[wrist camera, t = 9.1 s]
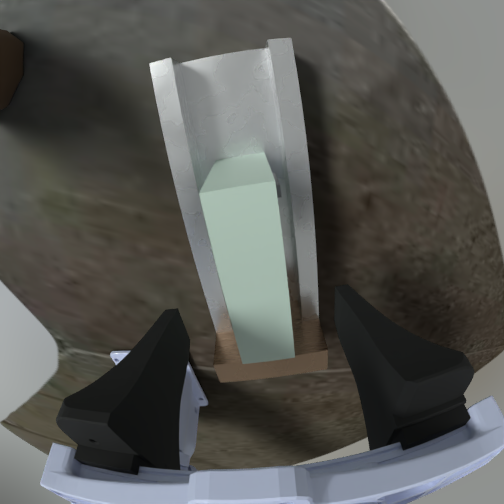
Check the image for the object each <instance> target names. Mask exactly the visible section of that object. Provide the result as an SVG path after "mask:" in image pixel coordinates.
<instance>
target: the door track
mask: <svg viewBox="0 0 504 504" xmlns="http://www.w3.org/2000/svg"><path fill="white" fill-rule="evenodd" d="M150 69H151V75H152V81H153V86H154V91H155V97H156V102H157V107H158V112H159V117H160V122H161V127H162V131H163V136H164V141H165V145H166V150H167V154H168V158H169V163H170V167H171V171H172V176H173V180H174V184H175V188H176V192H177V196H178V200H179V204H180V208H181V212H182V216H183V220H184V223H185V227H186V231H187V235H188V238H189V242H190V246H191V249H192V253H193V256H194V260H195V263H196V267H197V270H198V274H199V277H200V281H201V284H202V287H203V291H204V294H205V297H206V301H207V304H208V307H209V310H210V314H211V317H212V320H213V323H214V326H215V329H216V332H217V334H216V344H215V354H214V364H213V365H214V368H215V370H216V373H217V375H218V378H219V380H220V383H222V382H234V381H245V380H255V379H264V378H272V377H280V376H287V375H294V374H300V373H307V372H313V371H318V370H324V369H327V362H328V349H327V345H326V342H325V338H324V335H323V331H322V328H321V324H320V321H319V305H318V277H317V256H316V239H315V224H314V211H313V199H312V187H311V177H310V167H309V157H308V148H307V140H306V132H305V124H304V116H303V109H302V101H301V95H300V88H299V81H298V75H297V69H296V63H295V57H294V51H293V46H292V40H291V38H281V39H270V40H268V41H267V43H266V46H265V48H263V49H255V50H247V51H240V52H234V53H228V54H222V55H217V56H212V57H207V58H202V59H197V60H193V61H189V62H184V63H180V62H178V61H176V60H175V59H173V58H167V59H164V60H160V61H157V62H154V63H150ZM263 152H264V153H265V155H266V158H267V161H268V163H269V166H270V168H271V171H272V173H275V174H276V176H277V178H278V181H279V183H280V188H281V196H282V197H279V198H278V206H279V213H280V221H281V229H282V237H283V246H284V254H285V263H286V272H287V281H288V290H289V299H290V309H291V319H292V329H293V340H294V351H295V358H288V359H281V360H274V361H266V362H258V363H249V364H242V360H241V357H240V353H239V349H238V346H237V342H236V339H235V335H234V331H233V328H232V324H231V320H230V317H229V313H228V309H227V305H226V302H225V298H224V294H223V290H222V286H221V282H220V279H219V275H218V271H217V267H216V263H215V259H214V255H213V251H212V247H211V242H210V238H209V234H208V230H207V226H206V222H205V217H204V213H203V209H202V204H201V200H200V196H199V192H200V190H201V188H202V186H203V184H204V182H205V180H206V178H207V176H208V174H209V173H210V171H211V169H212V167H213V165H214V163H215V161H216V160H220V159H226V158H231V157H237V156H243V155H250V154H256V153H263Z"/></svg>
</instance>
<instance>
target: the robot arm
mask: <svg viewBox="0 0 504 504" xmlns="http://www.w3.org/2000/svg"><path fill="white" fill-rule="evenodd" d="M334 321H335V325H336V329H337V332H338V336H339V340H340V342H341V345H342V347H343V350H344V352H345V355H346V357H347V360H348V362H349V365H350V367H351V370H352V372H353V375H354V378H355V381H356V384H357V388H358V392H359V396H360V400H361V404H362V409H363V414H364V418H365V424H366V429H367V435H368V441H369V448H370V451H367V452H363V453H359V454H355V455H351V456H347V457H342V458H337V459H333V460H327V461H322V462H316V463H311V464H304V465H297V466H275V467H264V468H250V469H223V470H199V471H197V470H196V468H195V467H194V466H192V465H189V461H190V457H191V456H192V454H193V453H194V450H195V446H196V436H197V426H198V417H199V407H200V406H206V405H208V400H207V398H206V396H205V394H204V392H203V390H202V388H201V386H200V384H199V382H198V380H197V378H196V376H195V374H194V371H193V369H192V367H191V365H190V363H189V361H188V360H189V349H190V339H189V336H188V334H187V331H186V329H185V326H184V324H183V321H182V318H181V316H180V313H179V311H178V309H168V310H165V311H164V312H163V313H162V315H161V316H160V317H159V318H158V320H157V321H156V322H155V323H154V325H153V326H152V327H151V328H150V329H149V331H148V332H147V333H146V334H145V336H144V337H143V338H142V339H141V340H140V341H139V342H138V344H137V345H136V346H135V347H134V348H133V349H132V350H131V351H112V352H111V354H110V356H111V358H112V359H113V361H114V362H115V364H116V366H114V367H113V368H112V369H111V370H109V371H108V372H107V373H106V374H104V375H103V376H102V377H101V378H99V379H98V380H96V381H95V382H93V383H92V384H90V385H89V386H87V387H85V388H84V389H82V390H80V391H78V392H76V393H74V394H72V395H70V396H68V397H66V398H65V399H64V401H63V403H62V406H61V408H60V411H59V413H58V416H57V418H56V423H57V425H58V426H59V428H60V429H61V430H62V431H63V432H64V433H65V434H66V435H68V436H69V437H70V438H71V439H72V440H73V441H74V442H76V443H77V444H78V447H77V450H76V449H74V448H72V447H69V446H65V445H61V444H58V443H53V445H52V447H51V450H50V453H49V456H48V459H47V462H46V466H45V469H44V472H43V475H42V478H41V482H40V484H41V486H43V487H45V488H46V489H48V490H50V491H51V492H53V493H55V494H57V495H58V496H60V497H62V498H64V499H66V500H68V501H70V502H71V504H407V503H409V502H412V501H414V500H416V499H419V498H421V497H423V496H425V495H428V494H430V493H432V492H434V491H436V490H438V489H441V488H442V487H445V486H447V485H449V484H451V483H452V482H454V481H456V480H458V479H460V478H462V477H464V476H466V475H467V474H469V473H471V472H473V471H475V470H476V469H478V468H480V467H482V466H483V465H485V464H487V463H488V462H489V461H490V460H492V458H494V457H495V456H496V455H497V454H498V453H500V452H501V451H502V450H503V449H504V416H503V414H502V412H501V410H500V409H499V407H498V405H497V403H496V401H495V399H494V398H493V396H489V397H487V398H485V399H483V400H481V401H479V402H478V403H475V404H474V405H472V406H471V407H469V408H468V409H466V407H465V405H464V404H465V403H466V399H465V397H464V395H463V394H464V392H465V391H466V389H467V387H468V386H469V384H470V382H471V380H472V378H473V375H474V369H473V367H472V366H471V364H470V362H469V360H468V359H467V357H466V356H465V355H464V353H463V352H459V351H456V350H452V349H449V348H445V347H442V346H440V345H437V344H434V343H432V342H429V341H427V340H425V339H422V338H420V337H418V336H416V335H414V334H412V333H410V332H409V331H407V330H405V329H403V328H402V327H400V326H399V325H397V324H395V323H394V322H392V321H391V320H389V319H388V318H387V317H385V316H384V315H383V314H381V313H380V312H379V311H378V310H376V309H375V308H374V307H373V306H372V305H370V304H369V303H368V302H367V301H366V300H365V299H363V298H362V297H361V296H360V295H359V294H358V293H357V292H356V291H355V290H354V289H352V288H351V287H350V286H349V285H348V284H347V285H342V286H336V287H335V317H334Z"/></svg>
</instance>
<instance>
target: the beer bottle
mask: <svg viewBox="0 0 504 504" xmlns="http://www.w3.org/2000/svg"><path fill="white" fill-rule="evenodd" d="M23 50H24V43H23V42H22V41H20V40H19V39H18V38H16V37H15V36H13V35H12V34H11V33H9V32H8V31H6V30H1V29H0V110H2V109H4V108H6V107H7V106H8V105H9V103H10V101H11V99H12V97H13V94H14V92H15V90H16V88H17V86H18V84H19V82H20V80H21V78H22V76H23Z"/></svg>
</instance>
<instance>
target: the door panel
mask: <svg viewBox="0 0 504 504" xmlns="http://www.w3.org/2000/svg"><path fill="white" fill-rule="evenodd" d="M199 196H200V200H201V204H202V209H203V213H204V217H205V222H206V226H207V230H208V234H209V238H210V242H211V247H212V251H213V255H214V259H215V263H216V267H217V271H218V275H219V279H220V282H221V286H222V290H223V294H224V298H225V302H226V305H227V309H228V313H229V317H230V320H231V324H232V328H233V331H234V335H235V339H236V342H237V346H238V349H239V353H240V357H241V360H242V364H249V363H258V362H266V361H274V360H281V359H288V358H295V351H294V340H293V329H292V319H291V309H290V299H289V290H288V281H287V272H286V263H285V254H284V246H283V237H282V229H281V221H280V213H279V206H278V198H279V197H282V196H281V188H280V183H279V181H278V178H277V176H276V174H275V173H272V171H271V168H270V166H269V163H268V161H267V158H266V155H265V153H264V152H263V153H256V154H250V155H243V156H237V157H231V158H226V159H220V160H216V161H215V163H214V165H213V167H212V169H211V171H210V173H209V174H208V176H207V178H206V180H205V182H204V184H203V186H202V188H201V190H200V192H199Z"/></svg>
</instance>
